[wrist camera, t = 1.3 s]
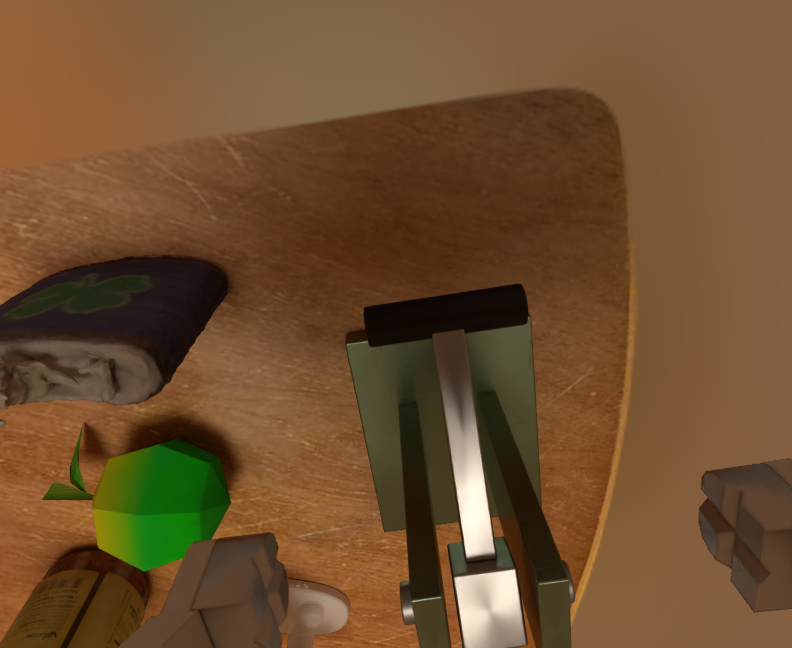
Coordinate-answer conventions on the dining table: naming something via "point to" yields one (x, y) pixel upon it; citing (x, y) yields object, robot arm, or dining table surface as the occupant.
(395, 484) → the bracket
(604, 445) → the dining table surface
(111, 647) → the sauce bottle
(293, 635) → the figurine
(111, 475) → the apple
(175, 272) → the eggplant half
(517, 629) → the lever
